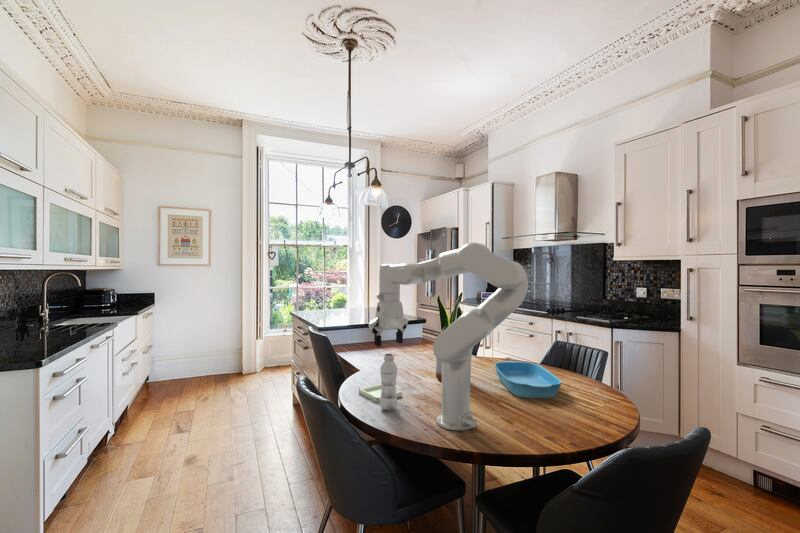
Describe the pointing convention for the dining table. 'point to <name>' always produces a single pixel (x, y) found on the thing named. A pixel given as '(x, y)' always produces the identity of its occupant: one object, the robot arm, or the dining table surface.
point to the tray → (375, 393)
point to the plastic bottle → (388, 383)
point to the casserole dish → (527, 379)
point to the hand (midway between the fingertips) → (388, 344)
